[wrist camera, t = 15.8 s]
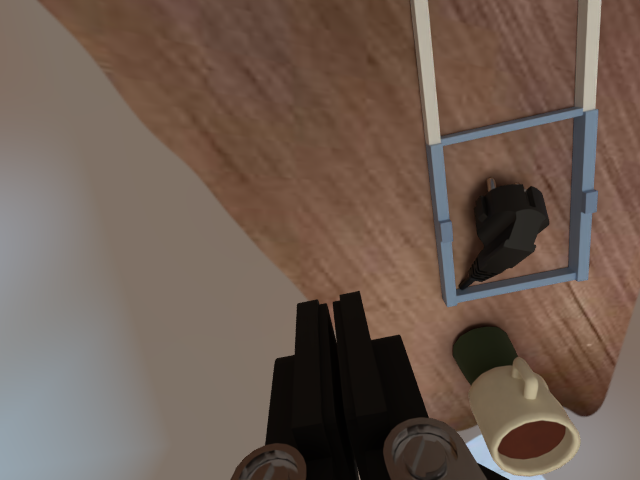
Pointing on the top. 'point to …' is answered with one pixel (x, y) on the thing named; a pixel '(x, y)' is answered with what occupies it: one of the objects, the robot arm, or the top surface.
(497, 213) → the power plug
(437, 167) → the blue cream pronged frame
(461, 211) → the top surface
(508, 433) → the character mug
